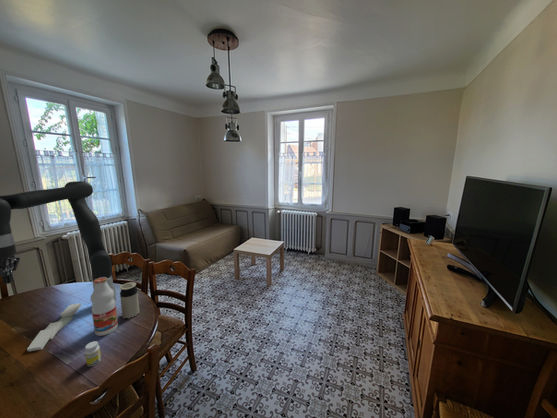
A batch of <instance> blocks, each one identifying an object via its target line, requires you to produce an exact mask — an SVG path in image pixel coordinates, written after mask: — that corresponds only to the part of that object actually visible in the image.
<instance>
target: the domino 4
mask: <svg viewBox="0 0 557 418" xmlns="http://www.w3.org/2000/svg"><path fill="white" fill-rule="evenodd" d="M73 319H74V317H73V316H67V317H60V318H59V320H58V321H57V322H61V321H62V322H63V325H62V326H61V327H60V329H59V330H58V331H60V330H62V329H63V328H64V327H65V326H66V325H68V323H69V322H71V321H72V320H73Z"/></svg>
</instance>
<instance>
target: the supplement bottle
mask: <svg viewBox="0 0 557 418" xmlns="http://www.w3.org/2000/svg"><path fill="white" fill-rule="evenodd" d="M84 350H85V351H84V356H85V361H86V366H87V367H93V366H96V365H97V364H99V363H100V361H101V360H102V355H101V354H102V353H101V346H100V345H99V343H98V341H97V340H95V341H91V342H89V343H87V344H86V345H85V347H84Z"/></svg>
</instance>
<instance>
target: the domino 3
mask: <svg viewBox="0 0 557 418" xmlns="http://www.w3.org/2000/svg"><path fill="white" fill-rule="evenodd" d="M81 307H82V303H73V304H70V305H69V306H67V307H66V309H64V310H63V311H62V312H61V313H60V315H59V316H60V318H62V317H73V316H74V315H75V314H76V313H77V312H78V311H77V310H79V309H80V308H81ZM76 311H77V312H76ZM75 312H76V313H75ZM74 313H75V314H74ZM73 314H74V315H73ZM72 315H73V316H72Z"/></svg>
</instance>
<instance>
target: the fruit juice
mask: <svg viewBox="0 0 557 418" xmlns="http://www.w3.org/2000/svg"><path fill="white" fill-rule="evenodd" d="M94 284H95V288H94V289H93V291H92V293H91V295H90V301H91V303H92V305H91V312H92V313H91V315H92V321H93V330H94V334H95V335H96V336H99V337H101V336H107V335H109V334H111V333H113V332H114V331H115V330H117V329H118V326H119V320H118V313H117V304H116V303H117V302H116V301H115V300H114V298H113V297H114V291H113V290H112V289H111V288H110V287H109V285H108V284H107V278H106V277H101V278H97V279H95V280H94Z"/></svg>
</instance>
